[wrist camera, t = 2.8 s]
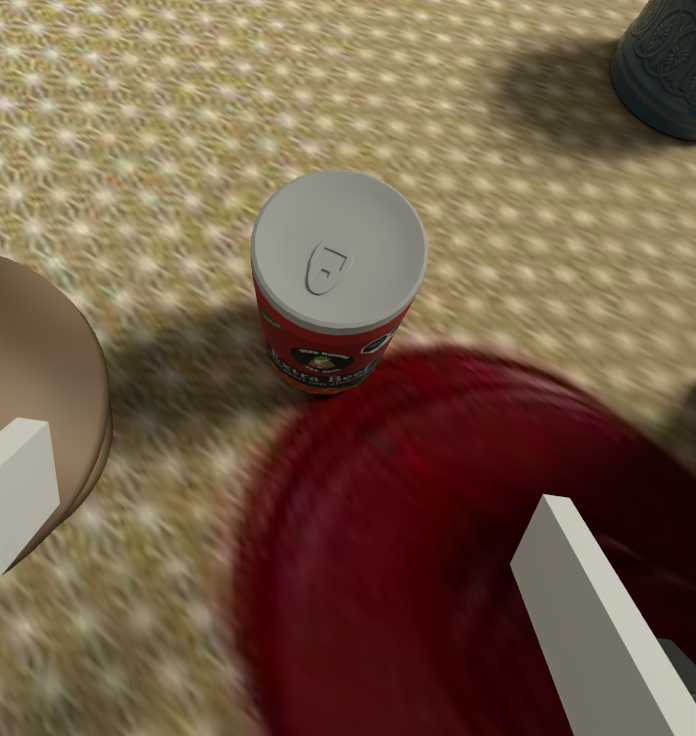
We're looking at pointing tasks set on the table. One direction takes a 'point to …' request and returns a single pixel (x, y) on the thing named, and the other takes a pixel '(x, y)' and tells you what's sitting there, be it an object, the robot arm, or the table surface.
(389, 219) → the canned food
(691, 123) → the canister
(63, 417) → the cake stand
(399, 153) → the table surface
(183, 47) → the table surface
